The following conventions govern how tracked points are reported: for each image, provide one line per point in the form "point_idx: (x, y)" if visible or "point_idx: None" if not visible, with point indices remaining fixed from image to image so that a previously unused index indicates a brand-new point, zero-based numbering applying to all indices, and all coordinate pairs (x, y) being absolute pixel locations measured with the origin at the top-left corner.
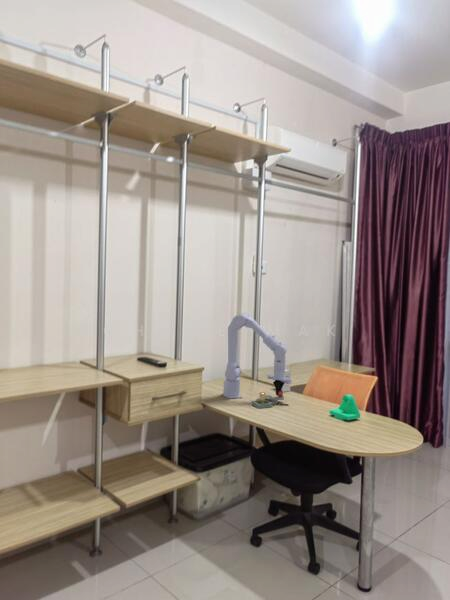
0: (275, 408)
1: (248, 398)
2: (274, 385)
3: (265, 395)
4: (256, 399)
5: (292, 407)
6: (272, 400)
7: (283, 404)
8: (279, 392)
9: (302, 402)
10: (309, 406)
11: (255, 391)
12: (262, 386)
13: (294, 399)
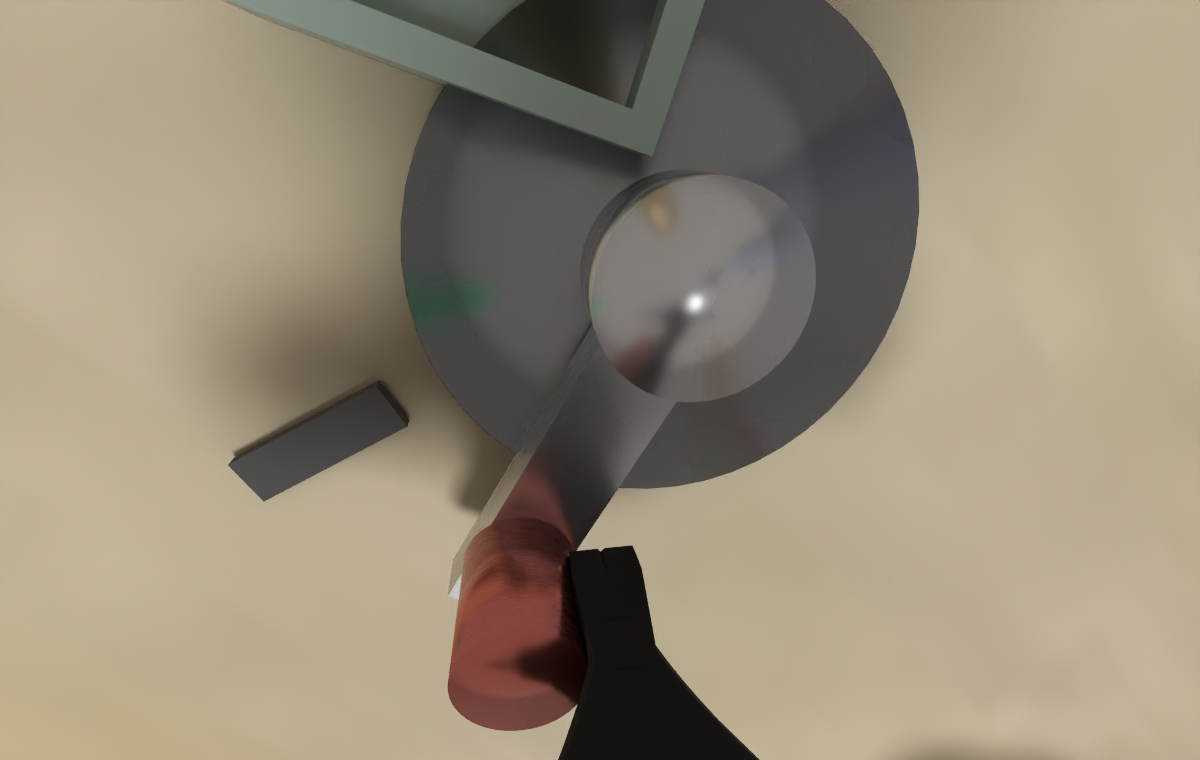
0: (108, 15)
1: (1125, 157)
2: (742, 748)
3: (772, 296)
4: (900, 112)
5: (52, 436)
6: None
7: (315, 417)
8: (500, 613)
9: (305, 745)
10: (15, 708)
11: (1190, 567)
12: (1196, 755)
13: (513, 743)
